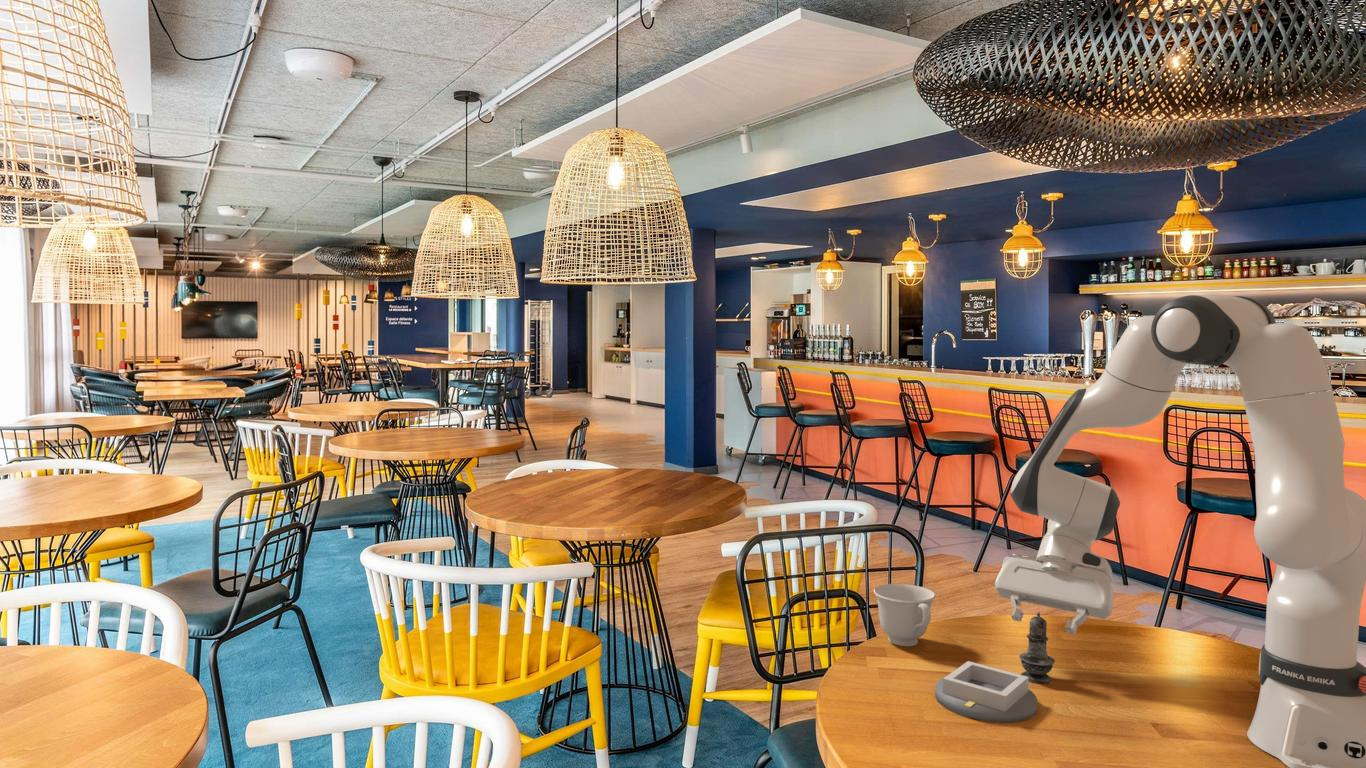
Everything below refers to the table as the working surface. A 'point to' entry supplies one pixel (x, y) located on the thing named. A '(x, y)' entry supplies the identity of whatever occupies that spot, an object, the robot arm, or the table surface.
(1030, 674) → the dark grey tapered piece
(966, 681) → the socket stand
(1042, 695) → the table surface
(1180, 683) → the table surface
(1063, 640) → the table surface
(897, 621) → the teacup
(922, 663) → the table surface
